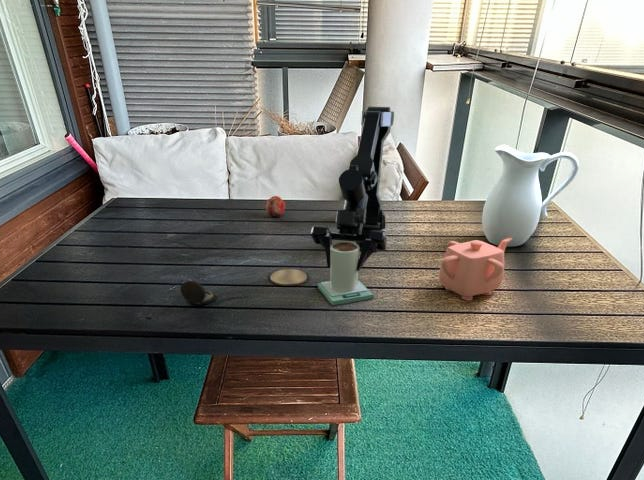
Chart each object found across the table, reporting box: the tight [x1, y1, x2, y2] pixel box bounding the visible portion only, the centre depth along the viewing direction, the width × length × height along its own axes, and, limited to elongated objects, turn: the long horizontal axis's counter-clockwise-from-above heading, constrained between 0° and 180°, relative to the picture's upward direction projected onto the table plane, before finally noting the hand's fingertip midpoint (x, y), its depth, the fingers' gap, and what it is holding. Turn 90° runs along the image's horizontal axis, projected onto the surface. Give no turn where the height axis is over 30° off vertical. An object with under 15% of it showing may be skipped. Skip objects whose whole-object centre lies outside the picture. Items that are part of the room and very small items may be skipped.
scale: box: [317, 279, 374, 306], centre depth 125 cm, size 11×11×2 cm
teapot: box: [438, 238, 512, 301], centre depth 122 cm, size 17×16×13 cm
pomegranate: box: [265, 195, 286, 218], centre depth 178 cm, size 7×7×10 cm
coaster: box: [270, 268, 308, 287], centre depth 133 cm, size 10×10×1 cm
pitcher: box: [481, 144, 580, 248], centre depth 147 cm, size 24×17×28 cm
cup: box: [329, 241, 361, 292], centre depth 122 cm, size 7×7×11 cm
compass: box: [180, 278, 215, 306], centre depth 120 cm, size 8×8×7 cm
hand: (342, 269), depth 121 cm, fingers closed on cup, 7 cm apart
